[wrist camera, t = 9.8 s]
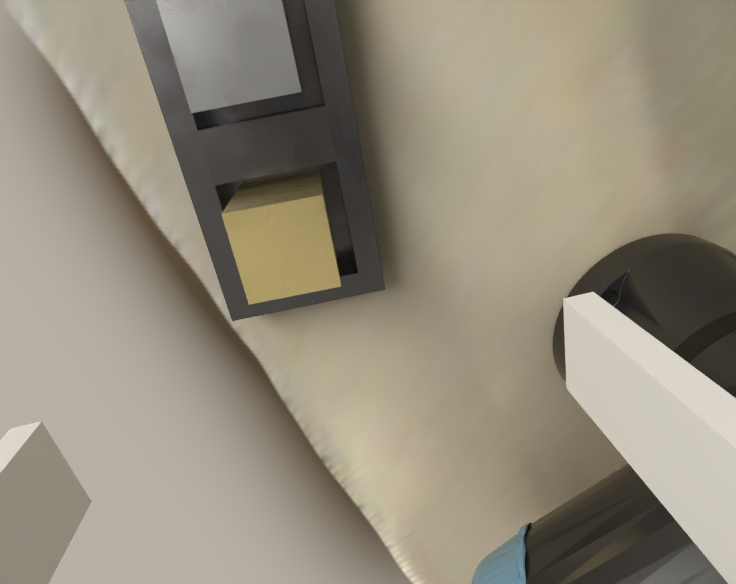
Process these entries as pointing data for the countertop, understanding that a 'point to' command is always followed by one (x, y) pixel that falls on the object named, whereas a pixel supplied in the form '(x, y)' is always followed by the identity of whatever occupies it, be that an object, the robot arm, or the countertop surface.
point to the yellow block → (282, 237)
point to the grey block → (231, 50)
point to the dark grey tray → (272, 149)
